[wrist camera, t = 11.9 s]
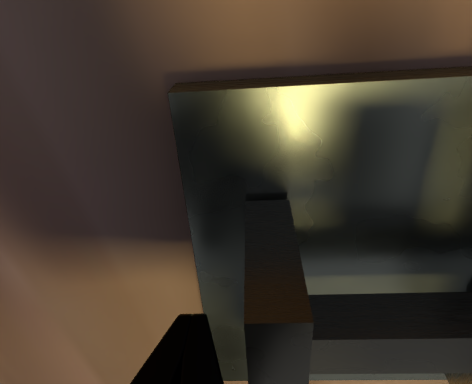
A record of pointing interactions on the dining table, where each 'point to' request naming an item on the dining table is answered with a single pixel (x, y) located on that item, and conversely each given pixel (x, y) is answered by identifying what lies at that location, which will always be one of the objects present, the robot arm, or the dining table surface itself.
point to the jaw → (339, 317)
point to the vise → (329, 186)
